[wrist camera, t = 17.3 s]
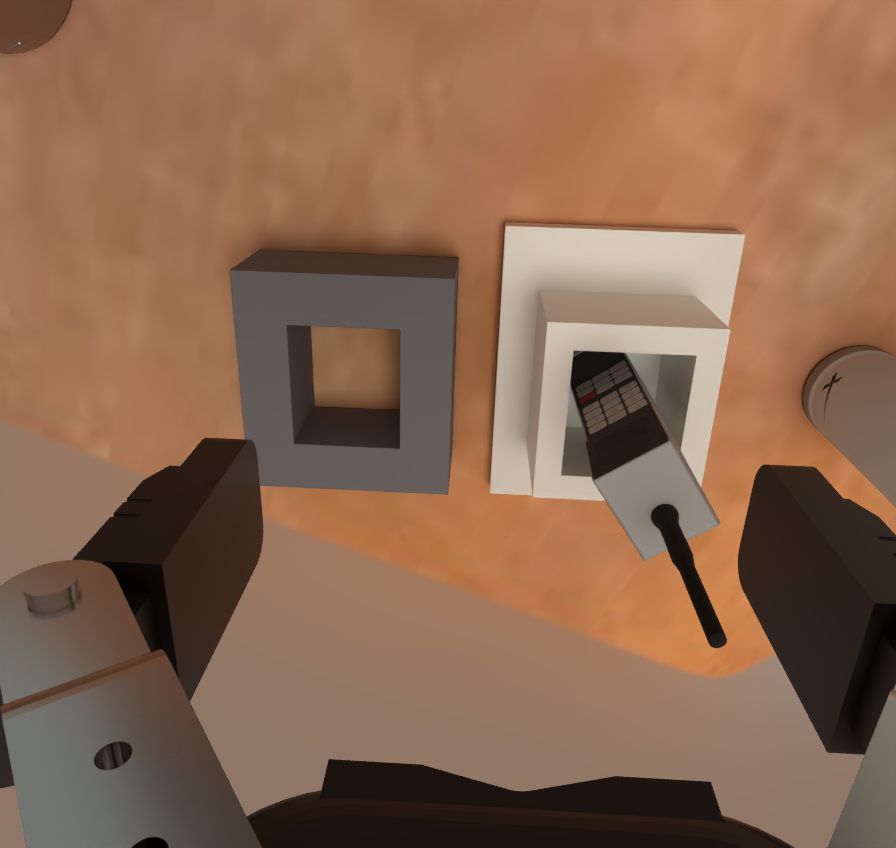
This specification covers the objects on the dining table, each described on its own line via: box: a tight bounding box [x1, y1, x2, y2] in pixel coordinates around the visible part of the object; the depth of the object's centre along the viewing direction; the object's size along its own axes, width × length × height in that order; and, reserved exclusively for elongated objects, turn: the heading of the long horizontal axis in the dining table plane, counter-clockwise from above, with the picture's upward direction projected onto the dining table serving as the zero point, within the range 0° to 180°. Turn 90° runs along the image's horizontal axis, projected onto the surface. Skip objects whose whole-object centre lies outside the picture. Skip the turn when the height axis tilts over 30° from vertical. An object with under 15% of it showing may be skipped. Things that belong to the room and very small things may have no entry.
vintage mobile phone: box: [570, 350, 727, 648], centre depth 36 cm, size 4×5×25 cm
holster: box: [230, 250, 459, 495], centre depth 47 cm, size 14×12×6 cm
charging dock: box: [490, 222, 745, 501], centre depth 45 cm, size 18×14×8 cm
